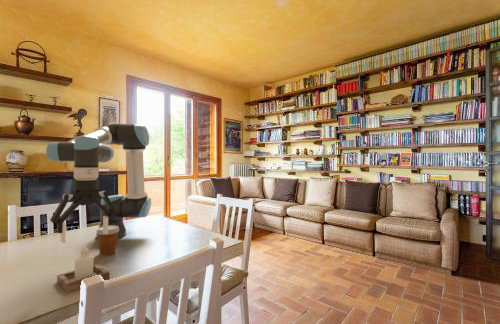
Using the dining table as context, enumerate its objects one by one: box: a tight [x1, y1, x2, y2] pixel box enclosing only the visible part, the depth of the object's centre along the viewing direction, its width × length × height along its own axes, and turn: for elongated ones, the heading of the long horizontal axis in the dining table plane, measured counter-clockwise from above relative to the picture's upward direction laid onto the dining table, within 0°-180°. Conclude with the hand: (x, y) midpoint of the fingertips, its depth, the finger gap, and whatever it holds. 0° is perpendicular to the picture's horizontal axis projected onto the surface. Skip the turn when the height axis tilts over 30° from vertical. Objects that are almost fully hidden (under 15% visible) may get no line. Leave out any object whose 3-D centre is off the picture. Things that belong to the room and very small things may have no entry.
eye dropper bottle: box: [74, 245, 95, 281], centre depth 91 cm, size 4×6×12 cm
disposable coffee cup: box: [96, 225, 120, 256], centre depth 118 cm, size 10×10×12 cm
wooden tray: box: [56, 263, 111, 293], centre depth 91 cm, size 11×13×2 cm
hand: (85, 237), depth 91 cm, fingers open, 13 cm apart
